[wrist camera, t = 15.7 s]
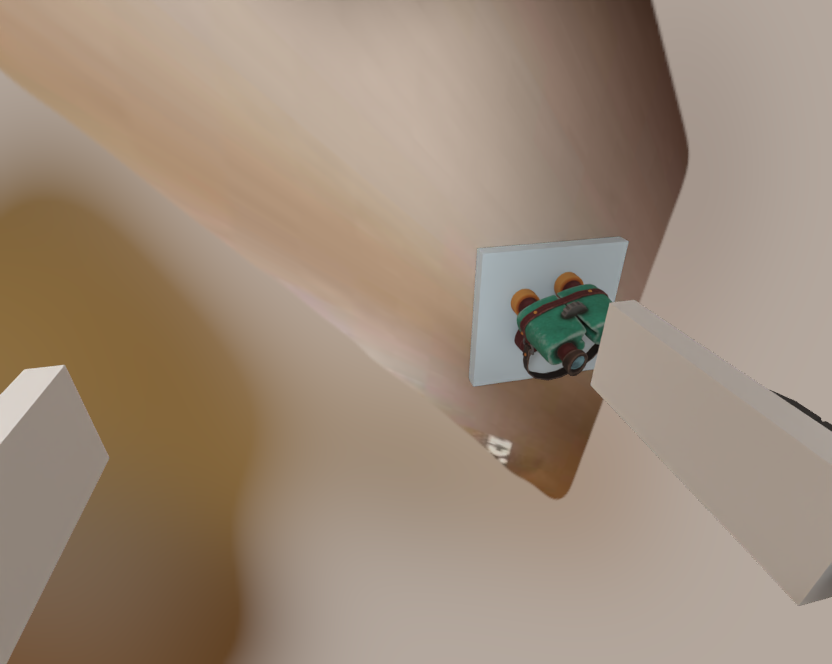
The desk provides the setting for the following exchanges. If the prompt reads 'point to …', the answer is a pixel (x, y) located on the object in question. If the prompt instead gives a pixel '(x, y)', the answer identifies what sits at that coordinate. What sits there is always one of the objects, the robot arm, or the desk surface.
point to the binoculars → (560, 324)
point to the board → (538, 272)
